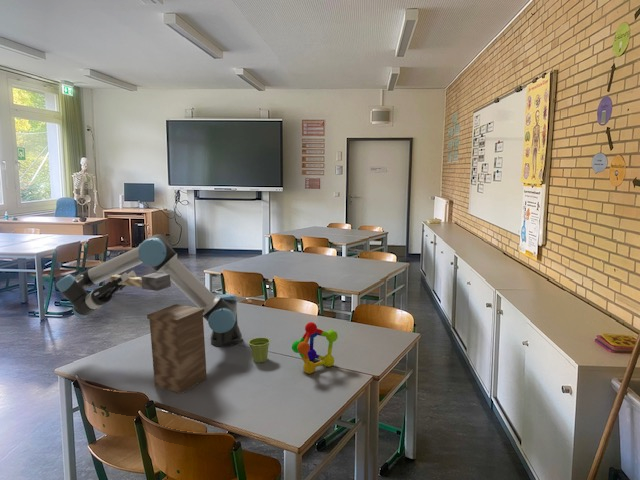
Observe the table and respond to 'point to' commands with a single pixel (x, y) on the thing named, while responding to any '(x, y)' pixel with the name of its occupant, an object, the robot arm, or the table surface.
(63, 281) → the robot arm
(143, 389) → the table surface
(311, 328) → the molecular model
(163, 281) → the mallet
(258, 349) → the plant pot
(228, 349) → the table surface
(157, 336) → the stand
